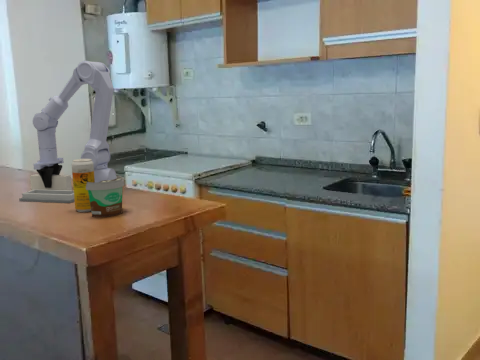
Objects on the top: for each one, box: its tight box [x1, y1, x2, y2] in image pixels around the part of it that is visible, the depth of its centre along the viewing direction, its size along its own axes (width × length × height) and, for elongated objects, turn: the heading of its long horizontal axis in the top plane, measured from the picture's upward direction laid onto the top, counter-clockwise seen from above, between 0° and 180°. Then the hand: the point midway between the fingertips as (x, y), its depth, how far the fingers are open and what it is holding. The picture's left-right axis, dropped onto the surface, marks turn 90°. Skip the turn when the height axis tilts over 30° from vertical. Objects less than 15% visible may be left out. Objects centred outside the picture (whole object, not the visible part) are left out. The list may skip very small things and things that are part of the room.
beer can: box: [71, 158, 95, 213], centre depth 144 cm, size 6×6×15 cm
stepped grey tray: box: [18, 189, 75, 204], centre depth 161 cm, size 18×9×2 cm, turn 77°
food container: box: [86, 175, 126, 218], centre depth 140 cm, size 12×6×10 cm, turn 148°
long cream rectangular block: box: [29, 173, 73, 191], centre depth 172 cm, size 14×3×6 cm, turn 77°
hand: (51, 186), depth 172 cm, fingers closed on long cream rectangular block, 3 cm apart
